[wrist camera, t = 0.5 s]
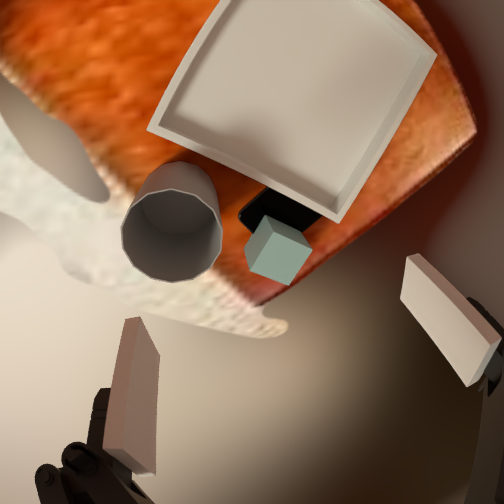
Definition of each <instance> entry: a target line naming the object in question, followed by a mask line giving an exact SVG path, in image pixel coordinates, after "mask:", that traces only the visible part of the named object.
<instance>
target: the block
mask: <svg viewBox="0 0 504 504" xmlns="http://www.w3.org/2000/svg"><path fill="white" fill-rule="evenodd" d="M312 250H313V249H312V248H311V246H310V245H309V243H308V242H307V240H306V239H305V237H304V236H303V234H302V233H301V232H300V231H298V230H296V229H294V228H292V227H290V226H288V225H286V224H284V223H282V222H279V221H277V220H275V219H273V218H271V217H269V216H267V215H265V216H264V217H263V219H262V221H261V223H260V224H259V226H258V228H257V229H256V231H255V233H254V234H252V235H251V237H250V239H249V240H248V242H247V244H246V245H245V247H244V252H245V255H246V259H247V263H248V266H249V270H250V271H252V272H255V273H257V274H260V275H262V276H265V277H267V278H270V279H273V280H275V281H278V282H280V283H283V284H286V285H289V284H290V283H291V281H292V280H293V278H294V277H295V275H296V274H297V272H298V271H299V269H300V268H301V267H302V265H303V264H304V262H305V261H306V259H307V258H308V256H309V255H310V253H311V252H312Z"/></svg>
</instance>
